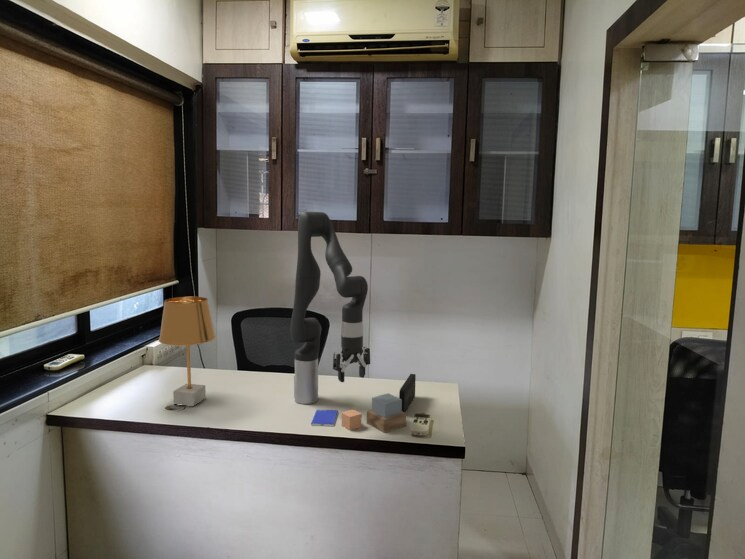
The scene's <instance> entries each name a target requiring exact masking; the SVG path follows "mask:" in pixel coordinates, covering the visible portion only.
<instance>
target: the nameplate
mask: <svg viewBox="0 0 745 559" xmlns="http://www.w3.org/2000/svg"><path fill="white" fill-rule="evenodd" d="M398 396H399V397H398V398H400V399H402V412H404V413H406V414H407V412H408V409H409V408H410V407H411V405H410V404H412V403H413V401H414V400H413V399H415V397H416V374H415V373H410V374H409V375H408V377H407V379H406V380H405V381H404V383H403V384H402V386H401V387H400V388H399V395H398ZM406 411H407V412H406Z"/></svg>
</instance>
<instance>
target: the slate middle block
mask: <svg viewBox="0 0 745 559" xmlns="http://www.w3.org/2000/svg"><path fill="white" fill-rule="evenodd" d="M371 409H372V411H373V412H375V413H376V414H378V415H380V416H382V417H384V418H387V417H390V416H393V415H397V414H400V413H401V412H402V399H400V398H399V397H397V396H395V395H393V394H391V393H389V392H388V393H384V394H380V395H377V396H374V397H373V396H372V397H371Z"/></svg>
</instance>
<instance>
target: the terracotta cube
mask: <svg viewBox="0 0 745 559" xmlns="http://www.w3.org/2000/svg"><path fill="white" fill-rule="evenodd" d="M341 427H343V428H344V427H345V429H346V430H348V431H349V430H351V431H354V430H357V429H360V428H362V413H361V412H359V411H357V410H355V409H349V410H347V411H342V412H341ZM356 428H357V429H356ZM353 429H354V430H353Z"/></svg>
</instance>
